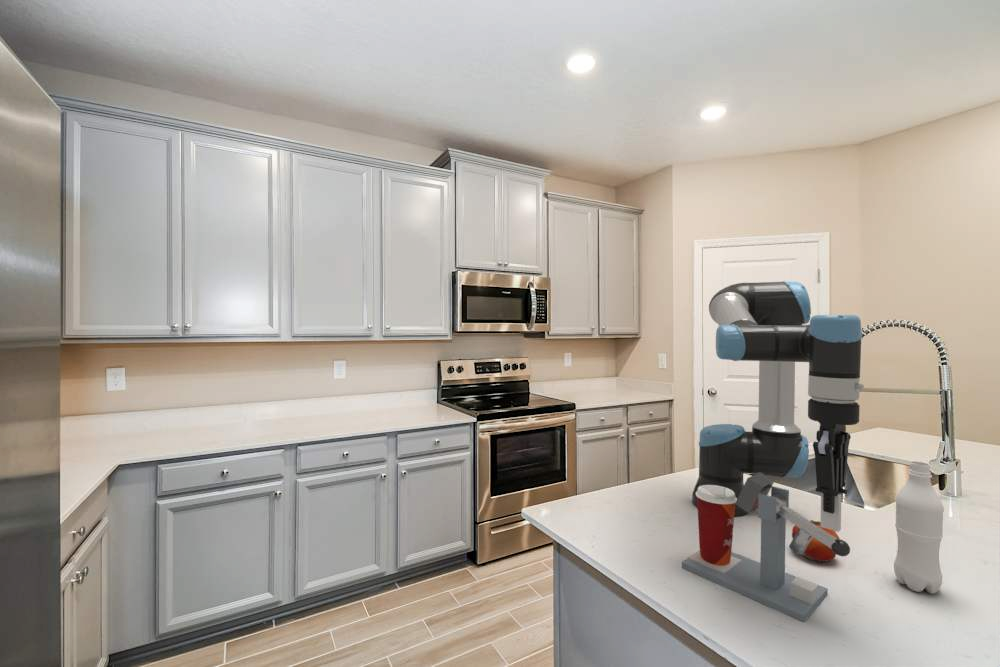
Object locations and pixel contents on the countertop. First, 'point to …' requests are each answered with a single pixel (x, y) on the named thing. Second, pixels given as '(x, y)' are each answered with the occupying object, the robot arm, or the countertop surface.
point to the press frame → (765, 568)
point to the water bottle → (919, 531)
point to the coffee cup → (715, 523)
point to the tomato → (818, 545)
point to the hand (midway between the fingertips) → (830, 528)
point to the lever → (788, 516)
